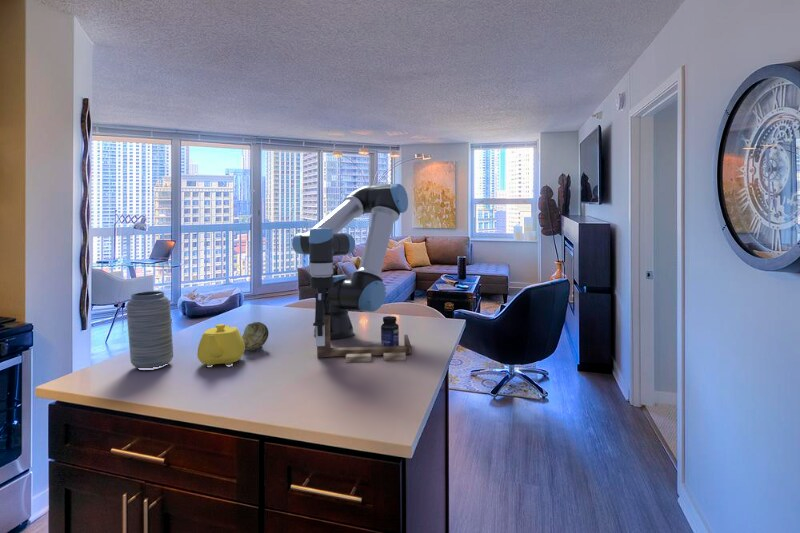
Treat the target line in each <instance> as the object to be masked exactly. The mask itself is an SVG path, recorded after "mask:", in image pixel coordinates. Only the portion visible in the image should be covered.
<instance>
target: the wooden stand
mask: <svg viewBox="0 0 800 533" xmlns="http://www.w3.org/2000/svg"><path fill="white" fill-rule="evenodd" d="M324 325H325V346H316V356H317V358H330V357H346V354H365V353H371V356H384V353H400V352H405V354H406V355H411V354H412V344H411V342H410V338H409V334H404V335H403V338H404V340H403V341H404V342H403V344H404V345H399V346H351V347H349V346H348V347H331V346H332V345H331V339H330V315H324Z"/></svg>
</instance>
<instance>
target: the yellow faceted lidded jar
mask: <svg viewBox="0 0 800 533" xmlns="http://www.w3.org/2000/svg"><path fill="white" fill-rule="evenodd" d="M242 336H243V335H242V334H241V332H240V330H239V329H238V327H237V326H230V325H229V324H225V323H219V324H215V327H211V328H208V329H206V330H205V331H204V332H203V334H202V335H201V338H200V340H199V343H198V347H197V351H196V352H197V355H196V356H197V360H198V361H200V363H201V364H205V365H207V366H211V365H214V366H215V365H219V364H222V365H223V364H225V365H231V364H234V362H237V361H239V360H240V359H241V358H242V356H243V355H244V353H245V352H246V351H245V350H246V349H245V345H244V341H243V338H242Z"/></svg>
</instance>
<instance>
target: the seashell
mask: <svg viewBox="0 0 800 533" xmlns="http://www.w3.org/2000/svg"><path fill="white" fill-rule="evenodd" d="M241 336H242V338H243V341H244V345H245V350H247V351H249V350H252V351H255V350H258V349H260V348H261V347H262V346H264V345H265V344H266V342H267V341H268V338H269V328H268V327H267V325H265V324H264V323H263V322H260V321H256V322H255V321H254V322H252V323H247V325H246V326H245V328H244V330H243V335H241Z"/></svg>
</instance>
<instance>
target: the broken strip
mask: <svg viewBox="0 0 800 533" xmlns="http://www.w3.org/2000/svg"><path fill="white" fill-rule="evenodd" d="M406 355H407V354H405V352H400V353H384V355H383V361H384V362H387V361H388V362H389V361H390V362H391V361H406V359H407V356H406ZM345 362H346V363H349V362H350V363H352V362H353V363H354V362H355V363H357V362H372V355H371V353H365V354H346V356H345Z"/></svg>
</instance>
